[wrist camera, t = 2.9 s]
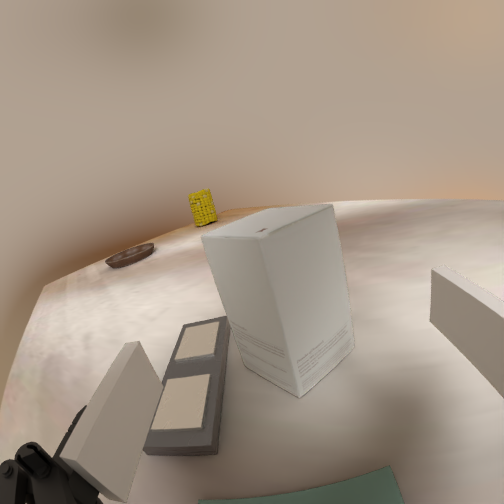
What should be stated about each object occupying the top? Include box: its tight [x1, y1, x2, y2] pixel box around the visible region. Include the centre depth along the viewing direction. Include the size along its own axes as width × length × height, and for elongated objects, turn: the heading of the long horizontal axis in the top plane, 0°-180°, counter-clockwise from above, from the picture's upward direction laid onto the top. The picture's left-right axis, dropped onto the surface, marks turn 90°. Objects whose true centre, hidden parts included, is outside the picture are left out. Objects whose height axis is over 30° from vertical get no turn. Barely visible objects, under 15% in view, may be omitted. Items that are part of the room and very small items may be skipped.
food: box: [188, 189, 217, 227], centre depth 113 cm, size 15×12×10 cm
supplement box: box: [201, 204, 355, 398], centre depth 22 cm, size 7×7×13 cm
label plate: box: [143, 316, 230, 456], centre depth 24 cm, size 6×18×2 cm, turn 1°
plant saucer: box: [105, 243, 154, 268], centre depth 86 cm, size 18×18×3 cm
